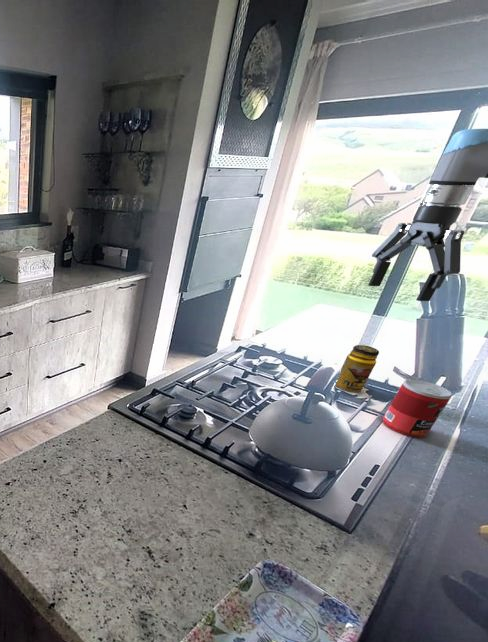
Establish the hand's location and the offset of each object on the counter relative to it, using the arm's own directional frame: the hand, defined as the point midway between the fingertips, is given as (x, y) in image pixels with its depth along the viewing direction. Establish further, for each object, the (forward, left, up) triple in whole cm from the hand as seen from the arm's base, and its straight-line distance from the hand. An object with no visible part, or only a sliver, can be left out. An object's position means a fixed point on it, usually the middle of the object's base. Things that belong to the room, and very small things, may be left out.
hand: (396, 292), depth 105 cm
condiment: (+1, +9, -26) cm, 27 cm away
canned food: (-13, +24, -26) cm, 37 cm away
